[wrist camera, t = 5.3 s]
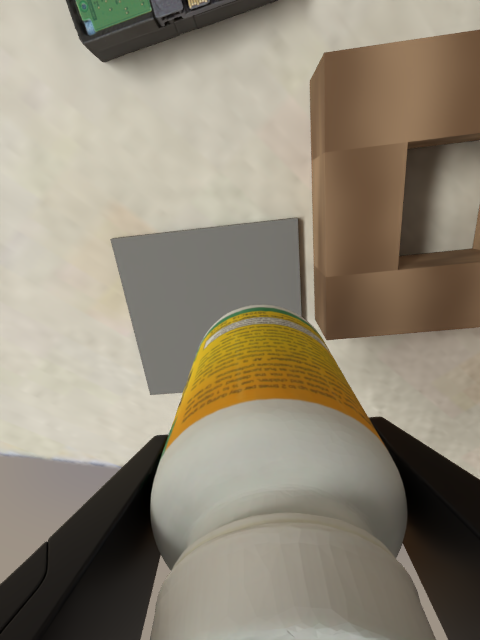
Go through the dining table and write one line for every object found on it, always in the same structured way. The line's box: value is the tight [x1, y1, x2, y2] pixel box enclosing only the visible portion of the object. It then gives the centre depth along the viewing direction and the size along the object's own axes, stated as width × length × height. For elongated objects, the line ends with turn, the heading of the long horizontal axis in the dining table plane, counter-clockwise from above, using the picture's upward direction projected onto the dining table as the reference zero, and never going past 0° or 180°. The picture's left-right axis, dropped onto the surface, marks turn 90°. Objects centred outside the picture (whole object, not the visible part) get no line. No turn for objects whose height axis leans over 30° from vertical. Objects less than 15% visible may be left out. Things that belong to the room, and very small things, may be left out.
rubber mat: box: [111, 218, 302, 395], centre depth 22 cm, size 12×12×1 cm
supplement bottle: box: [150, 305, 436, 640], centre depth 8 cm, size 5×5×10 cm
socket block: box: [310, 30, 480, 340], centre depth 17 cm, size 14×14×4 cm
